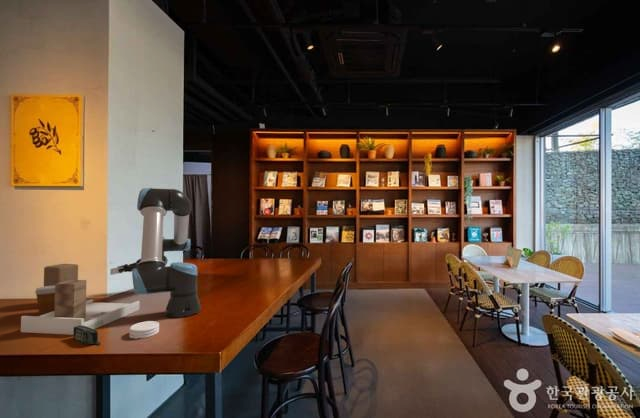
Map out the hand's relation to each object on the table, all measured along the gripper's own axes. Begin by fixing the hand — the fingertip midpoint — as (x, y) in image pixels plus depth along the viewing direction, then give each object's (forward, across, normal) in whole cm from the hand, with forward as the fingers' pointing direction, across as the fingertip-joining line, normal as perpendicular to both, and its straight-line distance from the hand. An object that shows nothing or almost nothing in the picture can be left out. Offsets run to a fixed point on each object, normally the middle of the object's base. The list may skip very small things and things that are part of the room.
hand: (111, 271), depth 141 cm
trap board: (+13, 0, -19) cm, 22 cm away
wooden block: (-6, +33, -18) cm, 38 cm away
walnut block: (+22, -2, -16) cm, 28 cm away
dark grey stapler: (+33, -20, -20) cm, 43 cm away
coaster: (+25, -36, -20) cm, 48 cm away
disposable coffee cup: (+7, +25, -18) cm, 32 cm away
